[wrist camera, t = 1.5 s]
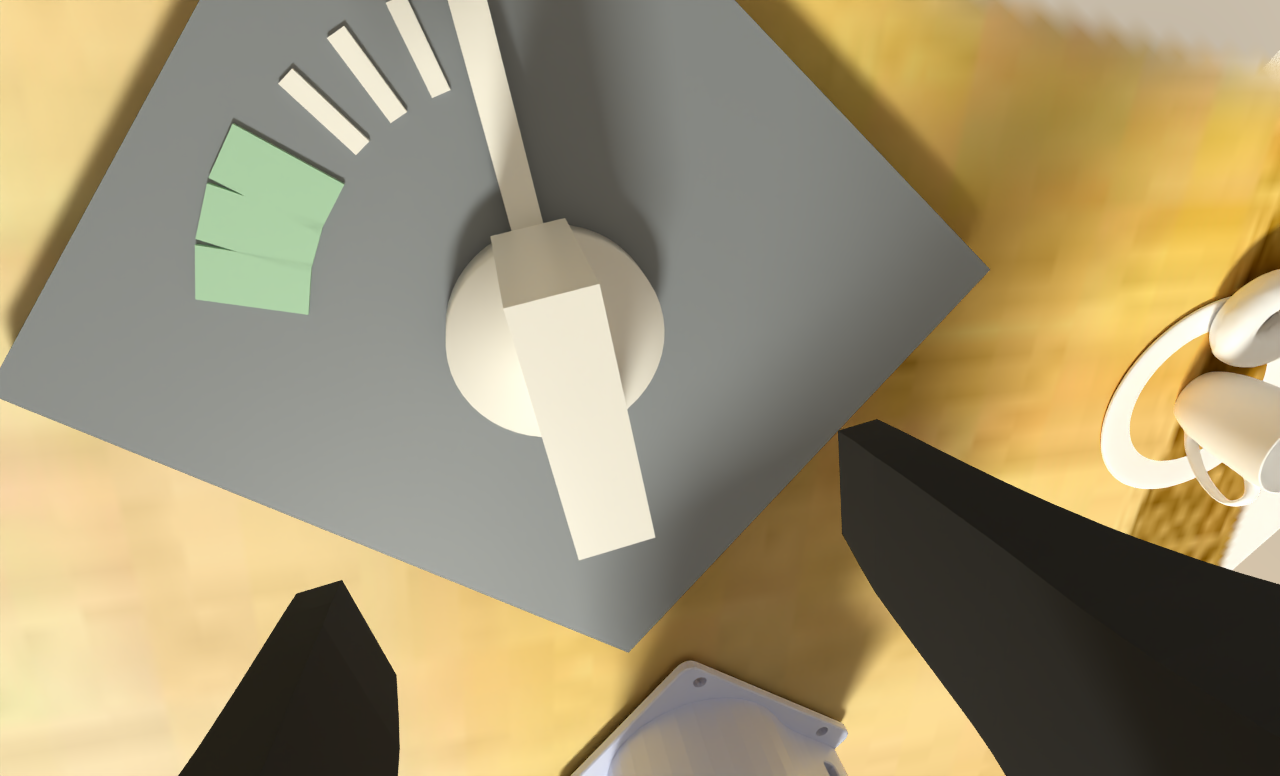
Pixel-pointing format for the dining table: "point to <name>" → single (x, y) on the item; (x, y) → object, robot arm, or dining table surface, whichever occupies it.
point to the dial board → (439, 252)
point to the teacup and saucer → (1216, 410)
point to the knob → (553, 327)
